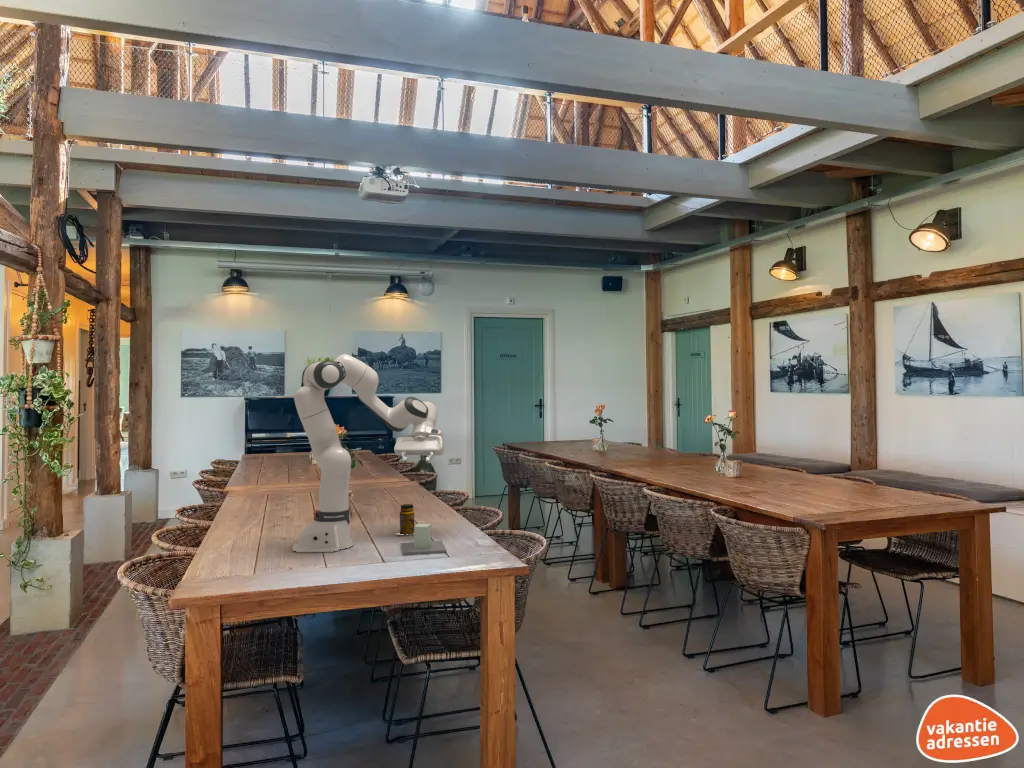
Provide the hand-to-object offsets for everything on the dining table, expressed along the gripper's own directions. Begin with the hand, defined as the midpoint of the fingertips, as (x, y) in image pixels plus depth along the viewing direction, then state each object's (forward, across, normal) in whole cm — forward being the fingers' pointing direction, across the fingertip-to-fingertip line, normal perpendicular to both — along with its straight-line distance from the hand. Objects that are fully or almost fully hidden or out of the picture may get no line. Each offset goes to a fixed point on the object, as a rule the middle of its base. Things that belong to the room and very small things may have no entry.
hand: (416, 462), depth 274 cm
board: (+32, +6, +13) cm, 35 cm away
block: (+31, +6, +12) cm, 34 cm away
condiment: (+14, -9, +31) cm, 35 cm away
